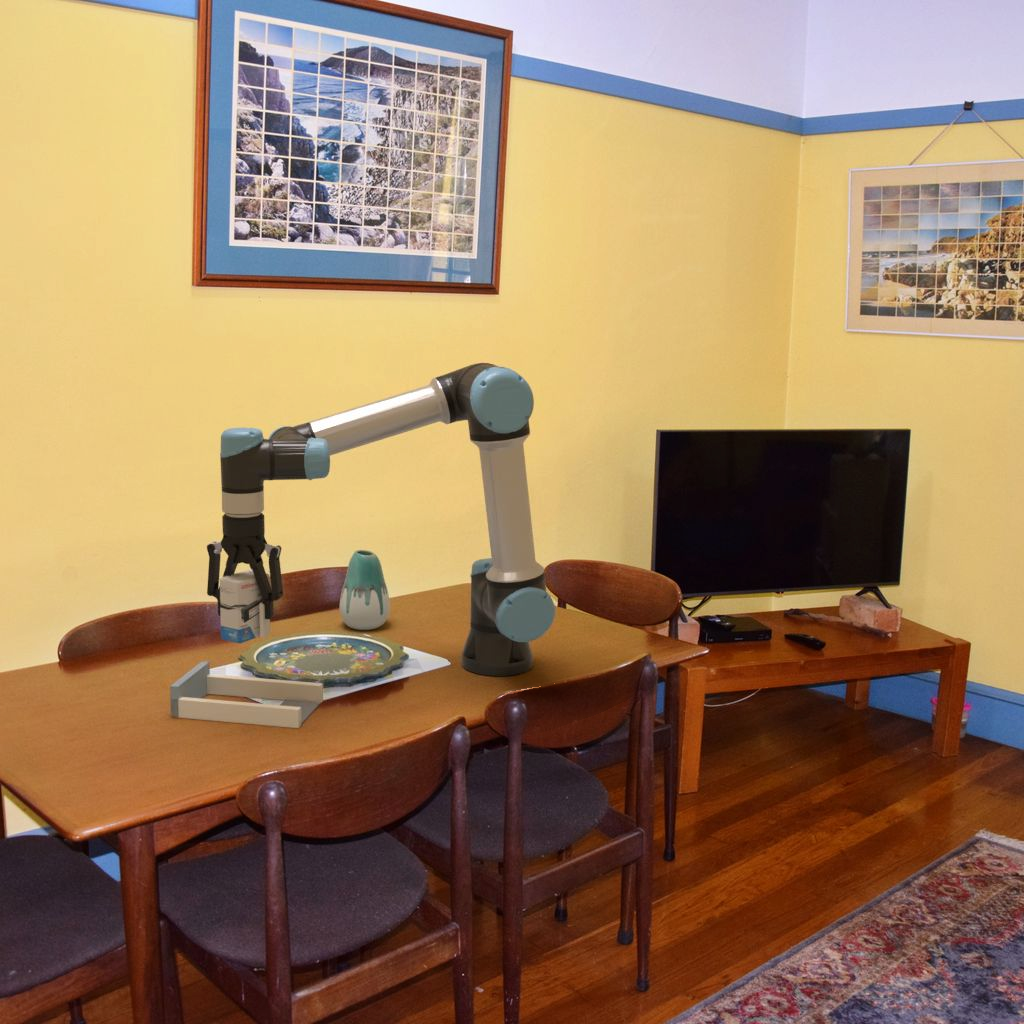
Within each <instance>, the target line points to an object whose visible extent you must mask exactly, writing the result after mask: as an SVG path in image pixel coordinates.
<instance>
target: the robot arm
mask: <svg viewBox="0 0 1024 1024" xmlns="http://www.w3.org/2000/svg"><path fill="white" fill-rule="evenodd" d="M534 406H535V399H534V394H533V390H532V388H531V386H530V384H529V383H528V381H527V380H526V379H525V378H524V377H523V376H522V375H520V374H519V372H517V371H515V370H513V369H511V368H509V367H505V366H499V365H496V364H494V363H490V362H479V363H473V364H470V365H467V366H465V367H462V368H459V369H456V370H454V371H450V372H447V373H445V374H443V375H440V376H436V377H433V378H431V380H430V382H429V384H428V385H425V386H421V387H418V388H414V389H411V390H408V391H405V392H401V393H398V394H395V395H391V396H389V397H386V398H383V399H379V400H376V401H373V402H372V401H371V402H369V403H366V404H363V405H359V406H356V407H353V408H350V409H346V410H343V411H340V412H337V413H334V414H331V415H327V416H323V417H320V418H318V419H313V420H311V421H309V422H305V423H301V424H297V425H295V426H290V425H288V426H287V425H286V426H285V425H284V426H280V427H278V428H276V429H274V430H273V431H272V432H271V433H270V435H269V436H268V438H264V436H263V431H262V430H261V429H260V428H257V427H256V428H254V427H232V428H227V429H225V430H223V432H222V433H221V435H220V453H219V456H220V457H219V459H220V479H221V481H220V482H221V512H222V513H224V514H223V515H222V516H221V518H222V522H221V523H222V539H221V541H212V542H211V543H208V544H207V545H206V551H207V554H208V557H209V558H208V574H207V588H206V593H207V596H209V597H213V598H215V599H216V601H217V614H218V616H219V617H221V615H220V573H221V572H220V571H221V553H222V551H224V552H225V554H226V555H227V560H226V561H225V568H224V572H223V575H222V577H224V576H230V575H232V574H236V573H235V572H236V570H237V567H238V565H239V564H246V565H249V568H250V570H253V573H254V576H255V579H256V581H257V584H258V587H259V590H260V593H261V596H262V598H263V601H262V602H261V603H259V610H260V637H259V638H265V637H266V636H268V635H270V633H269V619H270V620H271V619H272V618H273V617H274V615H275V614H274V602H275V601H278V600H280V599H281V598H282V597H283V596H284V589H283V580H282V579H283V578H282V570H281V569H282V568H281V561H280V557H281V554H282V553H281V552H282V546H281V545H272V544H269V543H268V542H267V540H266V538H265V535H266V534H265V530H266V529H265V528H266V527H265V515H264V513H263V512H264V510H265V492H264V490H265V489H264V481H286V480H287V481H289V480H290V481H292V480H293V481H294V480H308V481H312V480H318V479H324V478H326V477H328V476H329V473H330V468H331V456H334V455H337V454H339V453H343V452H345V451H349V450H353V449H356V448H359V447H362V446H367V445H368V444H371V443H375V442H378V441H381V440H384V439H388V438H390V437H395V436H397V435H401V434H404V433H407V432H409V431H413V430H416V429H420V428H422V427H427V426H429V425H433V424H435V423H438V422H441V423H443V424H445V425H450V424H452V423H456V422H462V421H467V425H468V431H469V432H468V433H469V440H470V442H472V443H473V445H475V446H476V447H477V448H478V450H479V459H480V469H481V476H482V477H481V478H482V485H483V494H484V503H485V512H486V520H487V529H488V536H489V537H488V538H489V547H490V556H491V557H489V558H488V557H487V558H482V559H477V560H475V561H474V562H473V563H472V566H471V573H470V623H469V624H470V626H469V627H470V629H469V632H468V634H467V638H466V641H465V643H464V647H463V649H462V652H461V666H462V668H464V669H465V670H466V671H469V672H470V673H471V672H472V673H474V674H478V675H484V676H493V677H497V676H498V677H504V676H516V675H519V674H524V673H525V672H528V671H529V670H531V669H532V667H533V661H534V659H533V657H534V656H533V652H532V649H531V645H530V642H533V641H536V640H537V639H539V638H541V637H542V636H544V635H545V634H546V633H547V632H548V631H549V629H550V628H551V626H552V625H553V623H554V620H555V617H556V608H555V607H556V606H555V603H554V600H553V598H552V596H551V595H550V594H549V592H548V591H547V584H546V575H545V574H546V573H545V568H544V566H543V565H541V564H540V563H539V562H537V560H536V552H535V544H534V536H533V535H534V533H533V524H532V522H533V521H532V515H531V506H530V496H529V495H530V494H529V486H528V485H529V484H528V477H527V476H528V475H527V468H526V467H527V466H526V456H525V448H524V447H525V446H524V443H525V442H526V440H527V439H528V438H529V437H530V435H531V429H530V422H529V421H530V418H531V417H532V415H533V411H534ZM264 552H266V556H267V557H268V566H269V567H268V568H269V581H268V578H267V575H266V573H267V572H266V570H265V567H264V560H263V558H262V555H263V553H264Z"/></svg>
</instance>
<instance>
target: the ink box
mask: <svg viewBox="0 0 1024 1024" xmlns="http://www.w3.org/2000/svg"><path fill="white" fill-rule="evenodd" d="M266 575H267V578H268V581H269V582H270V573H267V572H266ZM219 587H220V615H221V616H220V640H224V641H228V642H232V643H235V644H243V643H245V642H248V641H251V640H254V639H257V638H261V637H260V610H259V603H261V602H262V601H263V598H262V596H261V593H260V590H259V587H258V584H257V581H256V579H255V576H254V573H253V570H252V569H249V570H244V571H241V572H236V573H234V574H232V575H230V576H224V577H223V576H222V577H221V578H219ZM270 633H271V619H269V634H270Z"/></svg>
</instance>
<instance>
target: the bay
mask: <svg viewBox="0 0 1024 1024" xmlns="http://www.w3.org/2000/svg"><path fill="white" fill-rule="evenodd" d="M210 665H211V663H210V661H205V660H204V661H203V660H202V661H201V662H200V663H198V664H197V665H196V666H193V668H191V669H190V670H189V671H188V672H186V673H185V674H184V675H182V676H181V677H180V678H178V679H177V680H176V681H175V682H174V683H172V684H171V685H169V686H170V687H169V691H170V692H169V694H170V695H169V696H170V717H171V718H179V719H180V718H181V719H190V720H201V721H202V720H203V721H210V722H211V721H212V722H213V721H214V722H224V723H237V724H246V725H247V724H248V725H249V724H250V725H256V726H257V725H260V726H268V727H269V726H270V727H280V728H293V729H299V728H301V726H302V724H301V707H294V706H282V705H280V704H269V703H268V704H267V703H258V702H247V701H245V702H244V701H235V700H221V699H210V698H204V697H205V696H206V695H207V694H208V695H218V696H228V697H229V696H230V697H241V698H253V699H254V698H255V699H263V700H264V699H265V700H275V701H277V700H278V701H284V700H295V701H307V702H318V703H320V704H322V703H323V701H324V683H322V682H321V683H320V682H311V681H309V682H308V681H300V680H299V681H298V680H296V681H295V680H285V679H284V680H283V679H274V678H273V679H271V678H263V677H262V678H261V677H249V676H240V675H239V676H236V675H226V674H215V673H214V674H213V673H211V670H210Z"/></svg>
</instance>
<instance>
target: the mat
mask: <svg viewBox="0 0 1024 1024" xmlns="http://www.w3.org/2000/svg"><path fill="white" fill-rule="evenodd" d="M279 705H282V706H294V707H301V725H303V724H304V723H305V722H306V720H307V719H308V718H309V717H310V716H311V715H312V714H313V713H314V712H315V711H316V709H317V708H319V706H320V705H321V703H318V702H307V701H295V700H282V702H281V703H280V704H279Z"/></svg>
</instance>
